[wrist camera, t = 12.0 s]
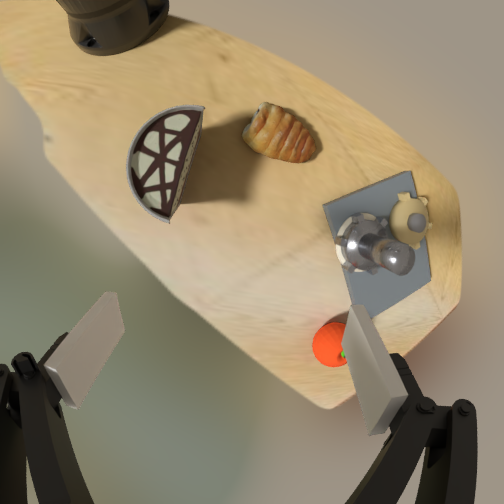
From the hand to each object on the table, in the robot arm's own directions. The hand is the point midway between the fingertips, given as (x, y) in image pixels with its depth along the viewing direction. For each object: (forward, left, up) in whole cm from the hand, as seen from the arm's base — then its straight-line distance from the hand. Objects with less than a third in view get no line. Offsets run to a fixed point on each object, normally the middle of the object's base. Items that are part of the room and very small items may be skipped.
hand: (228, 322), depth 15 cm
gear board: (+11, +24, -23) cm, 35 cm away
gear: (+8, +19, -21) cm, 30 cm away
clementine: (+21, +10, -23) cm, 33 cm away
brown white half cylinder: (-12, -1, -23) cm, 26 cm away
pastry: (-10, +13, -23) cm, 28 cm away
